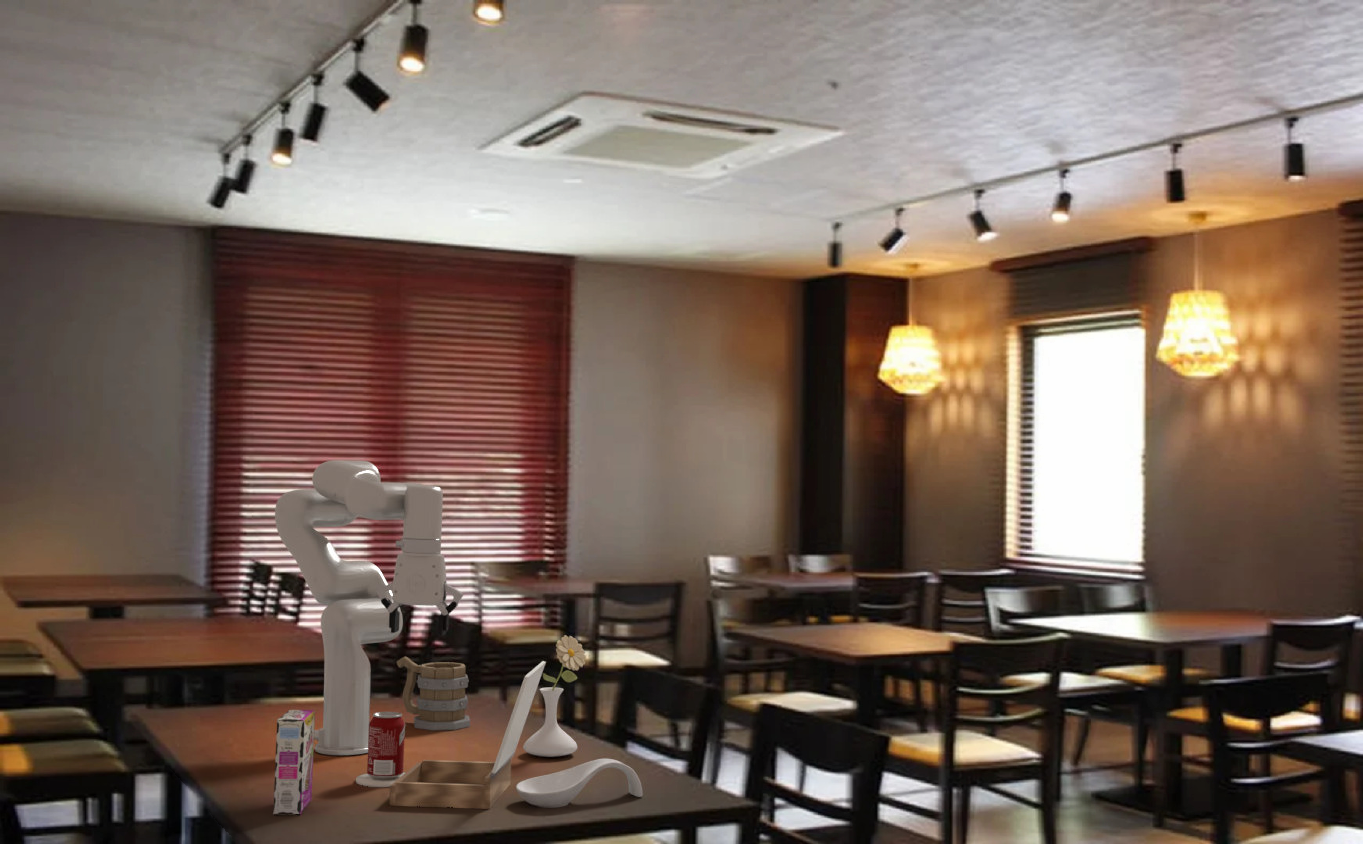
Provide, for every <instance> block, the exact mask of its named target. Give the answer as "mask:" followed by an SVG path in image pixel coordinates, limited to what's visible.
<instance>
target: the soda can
mask: <svg viewBox="0 0 1363 844" xmlns="http://www.w3.org/2000/svg"><path fill="white" fill-rule="evenodd" d="M402 716H403V713H401V712H398V711H378V712H374V713H372V718H371V720H369V738H368V753H367V765H366V766H367V767H366V774H368V775H369V776H371V777H372V778H373V779H377V780H391V779H396V778H398V777H399V776H401V775H402V774H403V772H404V762H405V761H404V758H405V738H406V737H405V736H406V735H405V734H406V731H405V729H406V723H405V721H404V719H403V717H402Z"/></svg>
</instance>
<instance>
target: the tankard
mask: <svg viewBox="0 0 1363 844" xmlns="http://www.w3.org/2000/svg"><path fill="white" fill-rule="evenodd" d="M396 664H397V666H398V668H399V669H401V668H403V667H405V668H406V669H407V671H406V672H407V673H406V674H407V675H406V681H405V684H404V686H403V690H402V691H403V692H402V702H403V705H404V708H405V710H406V712H407V713H409V714H412V715H415V716H414V717H413V727H414V728H415V729H418V730H419V729H420V730H425V731H437V732H438V731H457V730H462V729H465V728H466V729H467V728H469V727H470V726H471V720H470V717H469V715H467V714H465V713H466V711H465V710H466V709H467V708H468V702H469V699H468V697H467V695H466V688H468V687H469V677H468V674H466V673H467V672H466V671H467V670H466V665H465V664H464V663H459V662H449V661H447V662H445V661H444V662H443V661H442V662H440V661H439V662H427V663H422V664H419V665H418V664H417V663H415V662H414V661H413V660H411V658H409V657H407V656H403V657H401V658H400V659H398V660H397V661H396ZM418 673H419V674H418ZM416 683H417V687H418V688H419V695H417V696H416V697H417V700H416V704H414V701H413V692H414V689H415V686H416Z"/></svg>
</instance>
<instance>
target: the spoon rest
mask: <svg viewBox="0 0 1363 844" xmlns="http://www.w3.org/2000/svg"><path fill="white" fill-rule="evenodd" d="M608 768H614V769H618V770H619V771H622V772H623V773H624V774H625V776H626V778H627V783H628V793H629V794H631V795H632V796H634V797H636V798H642V797H643V787H642V783H641V780H640V778H639V776H638V774H637V773H636V772H635V770H634V769H633V768H631V767H630V766H629V765H627V764H624V763H623V762H622V761H620V760H616V759H612V758H598V759H595V760H594V759H593V760H590V761H587V762H584V763H582V764H578V765H576V766H573V767H570V768H567V769H563V770H561V771H557V772H554V773H549V774H545V775H544V774H543V775H540V776H536V777H531V778H528V779H525V780H521V781H520V782H518V783H517V784H516V786H515V791H517V793H518V795H519V796H520V798H522V799H523V800H524V801H525V802H527V803H528V804H530V805H532V806H536V807H538V808H549V809H550V808H552V809H553V808H561V807H566V806H568V805H569V803H571V802H572V801H573V800H574V799H575V798H576V797H577V796H578V794H579V793H580V792H581V791H582V790H583V788H584V787H585V786H586V785H587V783H588V782H589V781H590V780H591V779H593V777H595V775H597V774H598V773H599V772H601V771H602V770H605V769H608Z"/></svg>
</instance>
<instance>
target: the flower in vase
mask: <svg viewBox="0 0 1363 844" xmlns="http://www.w3.org/2000/svg"><path fill="white" fill-rule="evenodd" d="M555 647H556V648H555V652H556V654H557V655H556V659H558V660H559V662H560V663H561V664H562V665H561V668H560V672H559V673H558V676H557V678H555V677H554V676H550V675H547V674H546V673H545V672H542V677H543V680H545V681H547V682H551V683H553V686H552V687H551V686H550V687H542V688H539V691H540V693H541V695H542V696H543V698H544V704H545V721H544V723H543V725H542V727H541V728H539V729H538V730H537V731H536V732H535V733H534V734H533V735H531V736H530V737H529V738H528V739H527V740H526V741H525V742H524V744H523V747H522V748H523V750H524V751H525V752H526V753H527V754H530V755H532V756H537V757H546V758H556V757H562V756H563V757H565V756H568V755H571V754H572V753H575V752H576V751H577V749H578V745H577V742H576V741H575V740H574V739H573V738H572V737H571V736H570V735H569V734H567V732H565V731H564V730H563V729H562V728H561V727H560V726H559V724H558V721H557V711H558V710H557V708H558V702H559V698H560V696H561V695H562V693H563V692H564V688H562V687H556V685H557V683H558V681H559V679H560V677H561V679H563V681H565V682H567V683H572V682H574V681H576V680H577V679H578V676H577V675H576V674H575V673H574V672H573V671H579V669H580V668H583V666H584V665H586V661H585V659H587V655H586V654H585V652H586V651H585V650H584V649H583V645H582V644H581V643H579V641H578V639H577V638H575V637H573V636H571V635H569V636H567V635H566V634H565V635H563V637H561V639H558V640H557V642H556V644H555ZM564 668H567V669H568V670H567V669H566V670H565V671H563V670H564ZM570 670H572V671H570Z"/></svg>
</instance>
